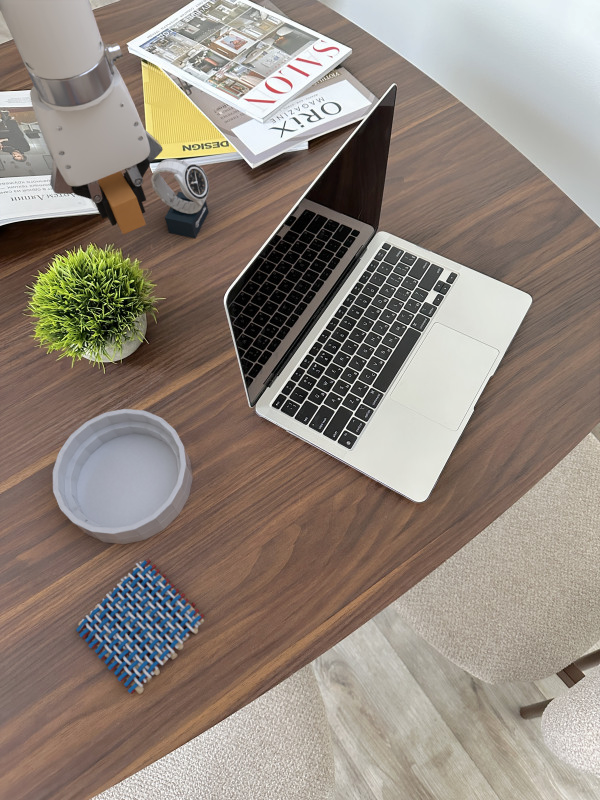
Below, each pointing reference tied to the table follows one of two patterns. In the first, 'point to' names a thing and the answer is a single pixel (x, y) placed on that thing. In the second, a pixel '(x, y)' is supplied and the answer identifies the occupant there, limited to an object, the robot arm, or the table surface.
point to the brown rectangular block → (122, 202)
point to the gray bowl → (122, 476)
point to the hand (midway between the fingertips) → (124, 210)
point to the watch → (183, 196)
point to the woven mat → (140, 625)
